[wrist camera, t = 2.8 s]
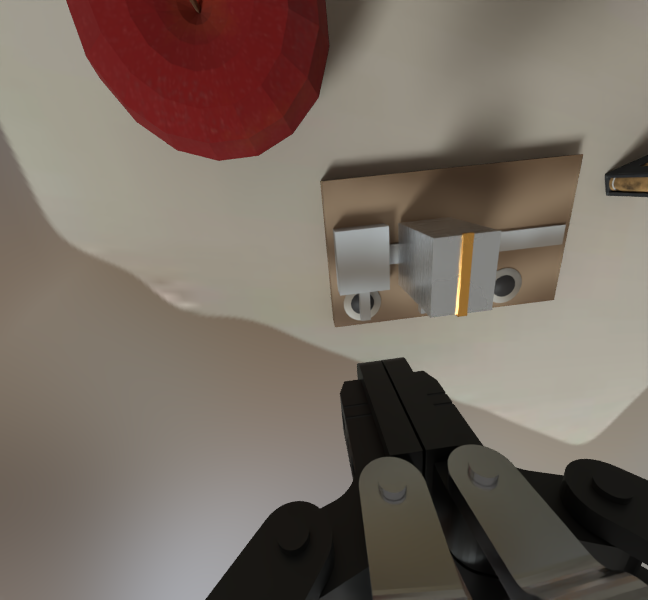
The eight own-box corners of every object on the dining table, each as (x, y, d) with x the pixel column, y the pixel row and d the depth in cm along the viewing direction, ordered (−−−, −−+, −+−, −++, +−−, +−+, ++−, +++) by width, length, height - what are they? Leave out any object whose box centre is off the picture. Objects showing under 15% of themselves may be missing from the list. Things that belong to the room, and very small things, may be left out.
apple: (147, 140, 22) (0, 102, 11) (158, -55, 18) (-43, -395, 7) (298, 182, 24) (300, 186, 13) (335, 13, 20) (382, -177, 9)
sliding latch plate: (320, 181, 24) (323, 181, 21) (567, 155, 25) (601, 152, 22) (333, 319, 28) (337, 335, 26) (541, 294, 29) (567, 306, 26)
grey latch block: (398, 221, 23) (434, 237, 17) (449, 215, 24) (503, 229, 17) (398, 311, 26) (430, 352, 20) (444, 306, 26) (489, 345, 20)
